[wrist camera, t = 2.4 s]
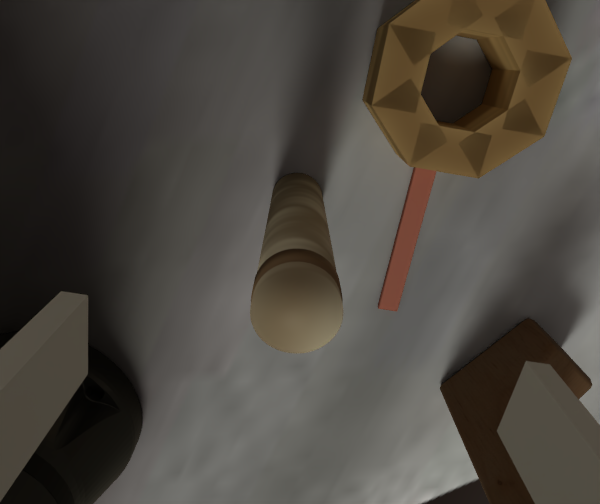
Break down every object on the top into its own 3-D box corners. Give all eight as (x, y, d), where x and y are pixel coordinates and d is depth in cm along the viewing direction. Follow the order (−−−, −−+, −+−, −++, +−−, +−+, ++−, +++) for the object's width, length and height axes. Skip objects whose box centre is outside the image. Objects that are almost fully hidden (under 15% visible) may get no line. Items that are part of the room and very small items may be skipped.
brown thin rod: (396, 308, 35) (397, 311, 35) (377, 305, 35) (378, 308, 35) (436, 164, 31) (437, 165, 31) (415, 160, 31) (417, 161, 31)
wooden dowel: (268, 217, 33) (243, 347, 18) (275, 168, 31) (255, 263, 17) (317, 225, 33) (334, 360, 18) (327, 176, 32) (353, 278, 17)
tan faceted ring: (352, 146, 31) (360, 158, 27) (389, -27, 27) (403, -41, 24) (499, 171, 32) (526, 186, 28) (554, 5, 28) (593, -3, 24)
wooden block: (528, 314, 36) (731, 536, 19) (563, 349, 37) (783, 588, 20) (436, 385, 38) (545, 639, 21) (471, 416, 39) (601, 679, 22)
